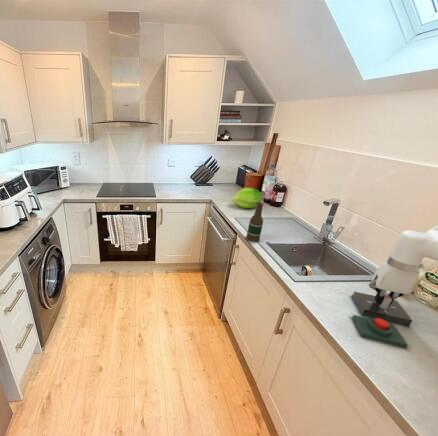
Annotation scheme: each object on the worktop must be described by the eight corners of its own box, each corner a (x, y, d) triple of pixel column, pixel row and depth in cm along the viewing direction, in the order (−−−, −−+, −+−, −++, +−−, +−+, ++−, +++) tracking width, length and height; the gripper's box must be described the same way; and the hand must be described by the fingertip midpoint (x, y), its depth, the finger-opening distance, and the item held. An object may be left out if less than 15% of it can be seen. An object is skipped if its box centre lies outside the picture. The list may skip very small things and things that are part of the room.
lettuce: (229, 211, 204) (227, 192, 207) (259, 209, 202) (256, 190, 205) (235, 207, 186) (233, 186, 188) (268, 204, 184) (265, 183, 187)
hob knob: (375, 300, 94) (380, 289, 92) (381, 301, 94) (386, 291, 92) (380, 308, 90) (386, 297, 88) (386, 309, 90) (392, 298, 88)
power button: (384, 323, 84) (386, 319, 83) (389, 331, 81) (391, 327, 80) (371, 320, 85) (373, 316, 84) (376, 328, 82) (378, 324, 81)
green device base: (392, 327, 86) (396, 320, 84) (405, 348, 78) (410, 341, 77) (351, 317, 90) (355, 311, 89) (361, 336, 82) (364, 329, 81)
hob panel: (393, 306, 96) (396, 300, 94) (408, 326, 86) (412, 320, 85) (351, 296, 100) (354, 291, 99) (361, 315, 91) (364, 309, 90)
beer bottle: (257, 236, 150) (265, 201, 141) (261, 242, 143) (269, 205, 134) (245, 235, 152) (251, 200, 142) (247, 241, 145) (254, 205, 135)
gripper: (425, 263, 85) (402, 302, 92) (370, 254, 90) (353, 292, 98) (439, 275, 79) (414, 316, 86) (379, 264, 84) (360, 304, 91)
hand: (381, 303), depth 92 cm, fingers closed on hob knob, 2 cm apart
